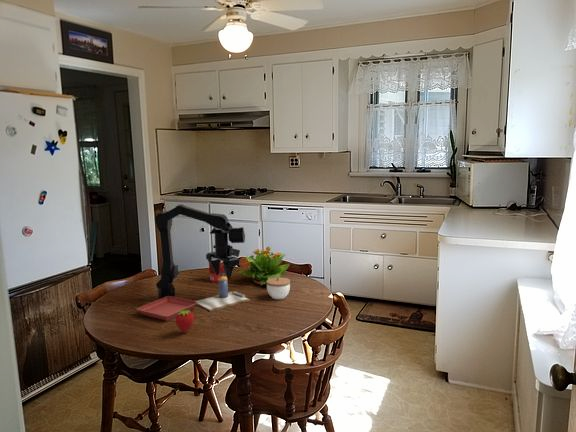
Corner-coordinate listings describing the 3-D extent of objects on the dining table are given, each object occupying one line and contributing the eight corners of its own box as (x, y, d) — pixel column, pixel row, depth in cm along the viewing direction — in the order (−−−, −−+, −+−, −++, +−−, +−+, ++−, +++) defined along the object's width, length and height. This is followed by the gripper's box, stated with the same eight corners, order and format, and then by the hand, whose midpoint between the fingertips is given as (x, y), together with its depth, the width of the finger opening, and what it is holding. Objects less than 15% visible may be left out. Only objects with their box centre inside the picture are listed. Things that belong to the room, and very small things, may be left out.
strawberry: (199, 331, 164) (197, 305, 163) (183, 338, 158) (182, 311, 156) (187, 327, 167) (186, 302, 166) (172, 334, 161) (170, 308, 160)
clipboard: (210, 311, 184) (210, 308, 183) (192, 302, 195) (192, 299, 195) (249, 300, 196) (249, 296, 196) (231, 292, 208) (230, 289, 208)
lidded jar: (262, 299, 198) (261, 278, 196) (274, 292, 207) (273, 272, 206) (283, 302, 193) (283, 281, 192) (294, 295, 202) (294, 275, 201)
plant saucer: (167, 324, 172) (167, 315, 172) (135, 316, 182) (135, 308, 181) (199, 309, 188) (198, 301, 187) (168, 302, 197) (167, 295, 196)
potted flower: (230, 286, 218) (228, 251, 215) (248, 273, 240) (247, 241, 238) (278, 290, 210) (277, 254, 208) (292, 276, 233) (291, 243, 230)
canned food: (224, 282, 224) (223, 261, 222) (208, 283, 224) (207, 261, 222) (226, 278, 231) (225, 257, 230) (211, 278, 232) (210, 258, 230)
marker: (222, 298, 197) (221, 279, 196) (217, 296, 200) (216, 277, 199) (230, 296, 200) (229, 277, 198) (225, 294, 203) (224, 275, 201)
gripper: (248, 243, 194) (250, 277, 197) (225, 237, 208) (226, 269, 211) (227, 247, 187) (228, 283, 189) (204, 241, 201) (206, 274, 203)
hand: (223, 277), depth 198 cm, fingers open, 9 cm apart
